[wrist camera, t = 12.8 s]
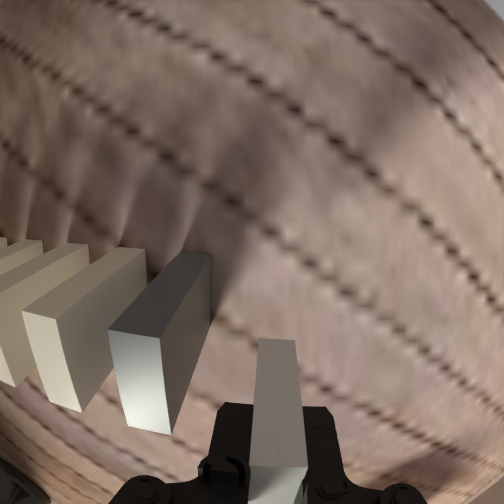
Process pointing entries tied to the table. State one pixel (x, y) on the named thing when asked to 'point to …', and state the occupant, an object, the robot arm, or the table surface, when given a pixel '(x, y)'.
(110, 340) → the domino
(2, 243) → the domino
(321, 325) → the table surface
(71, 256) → the domino
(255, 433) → the robot arm
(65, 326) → the domino
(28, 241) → the domino
